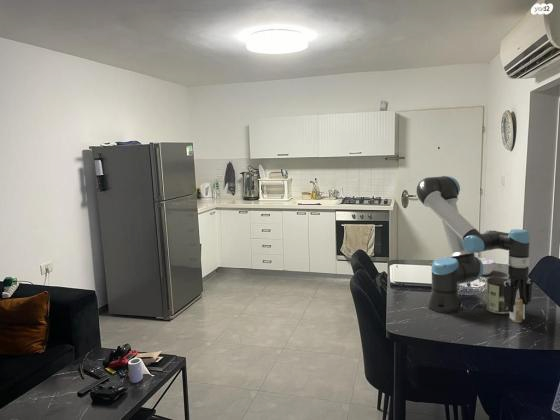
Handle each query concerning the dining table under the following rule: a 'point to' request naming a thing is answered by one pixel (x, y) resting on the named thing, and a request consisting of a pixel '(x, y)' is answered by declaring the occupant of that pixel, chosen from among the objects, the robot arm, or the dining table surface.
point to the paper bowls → (487, 265)
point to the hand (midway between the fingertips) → (516, 318)
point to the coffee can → (496, 296)
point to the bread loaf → (518, 310)
